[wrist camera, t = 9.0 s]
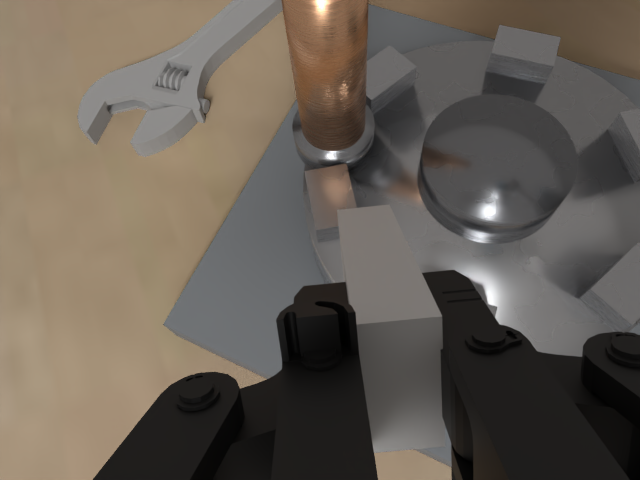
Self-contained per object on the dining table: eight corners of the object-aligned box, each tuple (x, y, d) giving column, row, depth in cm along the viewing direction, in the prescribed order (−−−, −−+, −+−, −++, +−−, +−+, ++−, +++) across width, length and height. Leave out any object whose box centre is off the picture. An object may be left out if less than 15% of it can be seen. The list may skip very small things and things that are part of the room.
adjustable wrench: (351, -83, 39) (351, -108, 37) (419, -46, 37) (422, -70, 35) (75, 122, 32) (61, 103, 31) (138, 182, 30) (126, 165, 29)
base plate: (727, 135, 29) (752, 111, 27) (643, 559, 21) (670, 567, 19) (355, 26, 34) (355, 0, 32) (176, 335, 26) (163, 324, 24)
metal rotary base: (665, 122, 27) (909, -158, 15) (627, 437, 21) (981, 384, 9) (352, 52, 30) (349, -224, 18) (242, 307, 24) (133, 142, 12)
